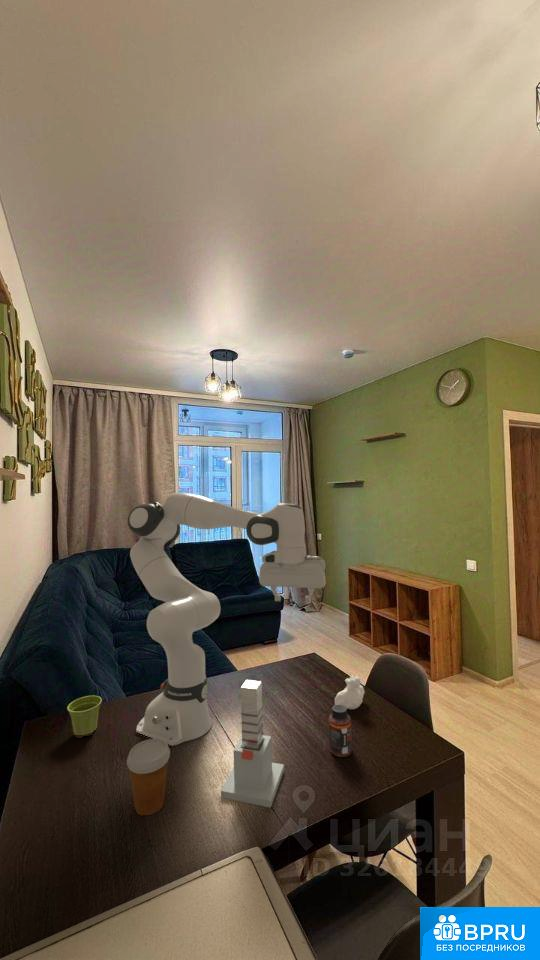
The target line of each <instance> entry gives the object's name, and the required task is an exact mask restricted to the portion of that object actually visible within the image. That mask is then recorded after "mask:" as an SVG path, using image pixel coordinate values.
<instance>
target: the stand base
mask: <svg viewBox="0 0 540 960" xmlns="http://www.w3.org/2000/svg"><path fill="white" fill-rule="evenodd" d="M272 750H273V749H272V736H270V735H264V734H263V744H262V746H261V748H260V750H259V751H256V750H250V749H244V748H242V736H241V737H240V738H239V740H238V741H237V744H236V745H235V747H234V749H233V768H232V770H231V772H230V774H229V775H228V777H227V779H226V781H225V782H224V783H223V786H222V787H221V788H222V789H221V790H220V798H223V799H228V800H232V801H236V802H242V803H245V804H250V805H255V806H256V805H257V806H262V807H265V808H272V806H273V803H274V799H275V797H276V794H277V792H278V789H279V785H280V783H281V780H282V778H283V776H284V771H285V764H284V763H283V764H282V763H277V762H273V754H272V753H273V751H272Z"/></svg>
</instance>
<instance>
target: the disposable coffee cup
mask: <svg viewBox="0 0 540 960" xmlns="http://www.w3.org/2000/svg"><path fill="white" fill-rule="evenodd" d="M170 756H171V749H170V747H169V745H168V744H167V743H166V742H165V741H163V740H161V739H151V738H149V739H145V740H142V741H139V742H138V743H137V744H134V746H133V747H132V748H131V749H130V751H129V753H128V756H127V759H126V765H127V767H128V770H129V777H130V782H131V790H132V797H133V803H134V810H136V811H135V812H137V813H136V814H137V815H139V814H140V815H139V816H143V815H147V816H151V815H153V813H154V814H156V813H157V812H159V811H160V810H161V809H162V807H164V806H163V805H164V803H165V795H166V794H165V793H166V784H167V772H168V764H169V759H170ZM150 814H151V815H150Z"/></svg>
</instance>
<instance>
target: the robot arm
mask: <svg viewBox="0 0 540 960" xmlns="http://www.w3.org/2000/svg"><path fill="white" fill-rule="evenodd" d="M304 515H305V514H304V511H303V508H302V507H301V506H300V505H299V504H295V503H291V502H279V503H277V504H276V505H275V506H274V507H273V508H271V509H269V510H266V511H265V512H263V513H259V512H254V511H251V510H250V511H249V510H245V509H240V508H235V507H234V506H231V505H227V504H225V503H222V502H220V501H217V500H214V499H212V498H209V497H206V496H203V495H200V494H194V493H189V492H173V493H171V494H169V495H167V497H166V498H165V500H164V503H162V504H161V503H159V502H158V501H153V502H150V503H145V504H144V503H142V504H139V505H136V506H135V507H133V508H132V510H131V511H130V512H129V514H128V516H127V520H126V521H127V526H128V529H130V531H131V532H132V533H133V534H134V535H136V536H138V537H140V538H139V539H138V541H137V542H135V543H134V544H133V546H132V547H131V548H130V551H129V558H130V561H131V564H132V566H133V568H134V569H135V570H134V571H135V572H136V574H137V576H138V577H139V579H140V580H141V582H142V584H143V586H144V587H145V589H146V591H147V592H148V594H149V595H150V596H151V597H152V598H154V599H155V600H159V601H162V602H163V603H162V604H160V605H157V606H156V607H155V608H153V609H151V610H150V612H149V613H148V616H147V618H146V629H147V633H148V634H149V636H150V638H151V639H152V640H153V641H155V642H157V643H159V645H161V647H162V648H163V650H164V652H165V655H166V660H167V675H168V676H167V677H168V678H166V679H165V680H164V682H163V683H162V684H160V690H162V689H163V691H162V692H161V693H159V694H158V695H157V696H155V698H153V699H152V700H151V702H150V703H149V704H148V705H147V707H146V709H145V712H144V717H142V719H140V721H139V722H138V724H137V725H136V727H135V728H136V729H135V730H136V731H135V732H138V733H140V734H143V735H145V736H148V737H151V738H153V739H161V740H163V741H165V742H166V743H167V744H169V745H168V746H170V745H171V746H172V747H174V745H175V746H178V745H179V744H181V743H184V742H189V741H192V740H195V739H198V738H200V737H202V736H204V735H205V734H207V733H208V732H209V731H210V729H211V728H212V725H213V723H212V718H211V716H210V715H211V714H210V710H209V706H208V705H209V704H208V699H207V697H208V679H207V678H208V677H207V675H206V654H205V653H206V652H205V650H204V649H203V648H201V646H199V645H198V644H195V643H194V641H193V633H194V632H197V631H199V630H202V629H203V628H207V627H208V626H210V625H211V624H213V623H214V622H215V621H216V620H217V619H218V618H219V616H220V614H221V602H220V600H219V598H218V596H217V595H215V594H214V593H213V592H210V591H207V590H203V589H201V588H200V587H198V586H196V585H195V584H194V583H192V582H191V581H190V580H188V579H187V578H186V577H185V576H184V575H182V574H181V572H180V571H179V569H178V568H177V567H176V566H175V564H174V562H173V561H172V559H170V557H169V556H168V554H167V553H166V551H165V550H166V549H169V548H170V547H171V545H172V544H173V543H174V542H175V541H176V540H177V539H178V538H179V536H180V534H181V525H183V526H186V527H189V528H193V529H199V530H213V529H220V528H228V527H229V528H231V527H232V528H233V527H234V528H240V529H243V530H246V532H245V533H246V535H247V538H248V539H249V541H250V542H252V544H254V545H258V546H266V545H268V544H269V545H270V544H274V543H275V544H276V550H273V551H271V552H268V553H266V554H264V555H262V556H261V560H262V564H261V565H260V568H259V574H258V575H259V576H258V577H259V579H258V581H259V584H260V586H261V587H270V591H271V592H272V594H273V596H274V601H275V602H281V600H282V597H281V596H282V595H281V594H280V593H278V592H277V591H278V590H277V589H278V587H279V588H297V589H298V588H300V589H301V588H302V589H305V588H306V589H308V592H309V593H308V595H305V596H304V603H305V604H306V603H307V604H311V602H312V595H313V593H314V591H315V589H324V587H325V585H326V583H327V582H326V581H327V580H326V579H327V578H326V574H325V570H326V568H327V567H326V560H325V558H322V557H321V556H319V555H317V556H316V555H315V556H313V555H306V554H307V552H306V550H307V549H306V548H307V546H306V542H305V533H306V526H305V523H306V522H305V516H304ZM145 736H144V737H145ZM148 737H147V738H148ZM151 738H150V739H151ZM171 746H170V747H171Z"/></svg>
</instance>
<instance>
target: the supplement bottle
mask: <svg viewBox="0 0 540 960" xmlns="http://www.w3.org/2000/svg"><path fill="white" fill-rule="evenodd" d="M328 735H329V737H328V738H329V750H330V752H331V754H332V755H334V756H336V757H339V758H346V757H348V756H350V755H351V753H352V750H353V745H352V720H351V716H350V715H349V714H348V709H347V708H346V707H345V706H343V705H335V704H334V705H333V706H332V707H331V714H329V716H328Z"/></svg>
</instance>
